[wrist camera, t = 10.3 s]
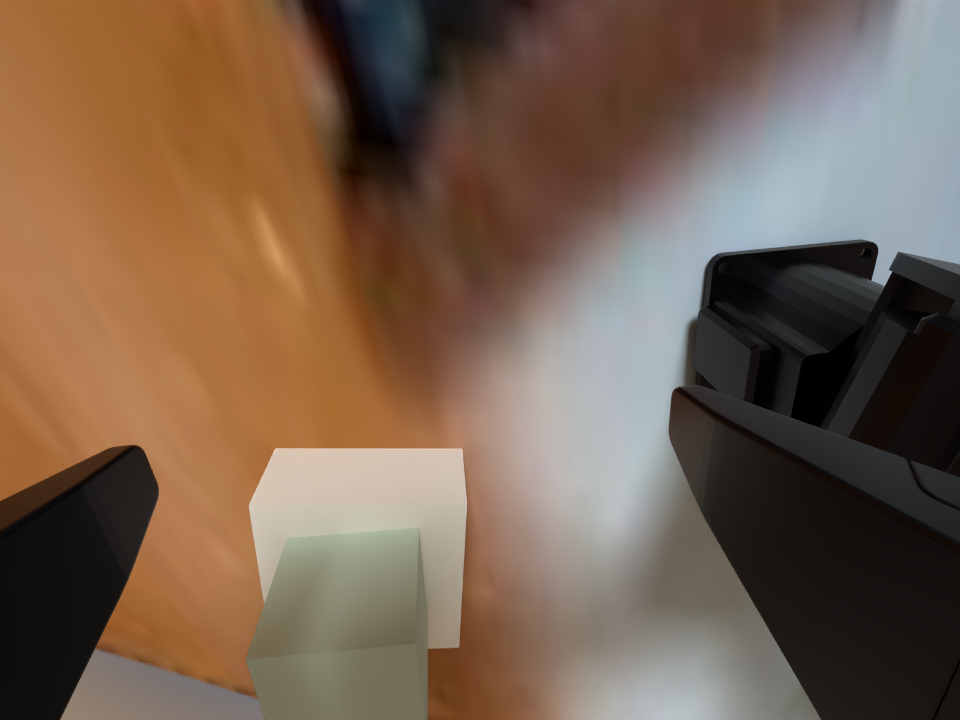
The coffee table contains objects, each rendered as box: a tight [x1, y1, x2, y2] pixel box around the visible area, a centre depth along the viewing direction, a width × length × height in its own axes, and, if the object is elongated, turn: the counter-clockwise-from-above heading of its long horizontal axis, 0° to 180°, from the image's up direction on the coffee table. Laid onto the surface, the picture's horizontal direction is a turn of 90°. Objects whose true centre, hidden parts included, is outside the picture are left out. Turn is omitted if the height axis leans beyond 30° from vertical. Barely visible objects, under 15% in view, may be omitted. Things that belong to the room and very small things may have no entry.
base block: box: [249, 448, 467, 649], centre depth 23 cm, size 8×8×4 cm
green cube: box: [246, 528, 428, 720], centre depth 19 cm, size 5×5×5 cm
